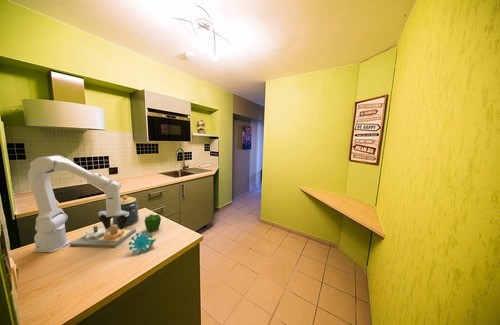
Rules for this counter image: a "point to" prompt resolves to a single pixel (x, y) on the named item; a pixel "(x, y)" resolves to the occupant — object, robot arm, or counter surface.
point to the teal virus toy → (141, 242)
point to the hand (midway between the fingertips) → (115, 228)
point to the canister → (128, 210)
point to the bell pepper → (152, 222)
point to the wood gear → (113, 233)
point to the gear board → (101, 238)
